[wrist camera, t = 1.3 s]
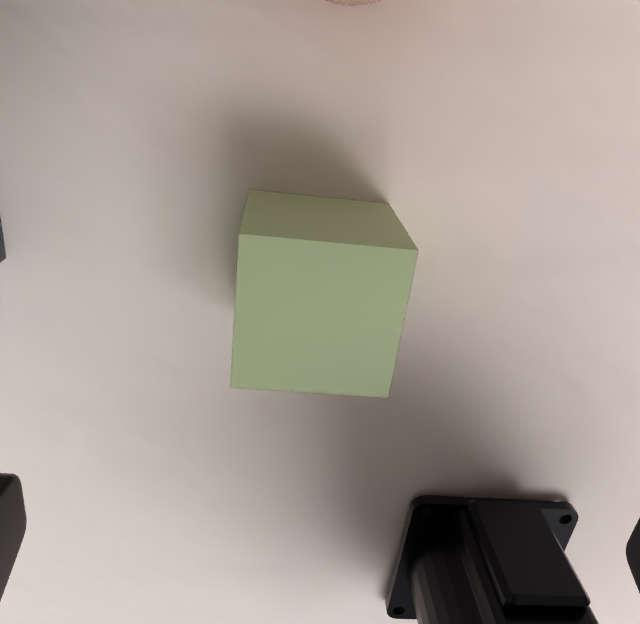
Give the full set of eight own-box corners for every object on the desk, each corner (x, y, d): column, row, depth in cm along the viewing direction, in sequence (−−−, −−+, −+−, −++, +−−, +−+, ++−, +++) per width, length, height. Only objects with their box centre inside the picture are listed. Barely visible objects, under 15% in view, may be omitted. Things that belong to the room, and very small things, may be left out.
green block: (366, 325, 18) (388, 397, 14) (241, 315, 17) (230, 387, 14) (388, 202, 16) (418, 250, 12) (249, 188, 16) (238, 233, 12)
